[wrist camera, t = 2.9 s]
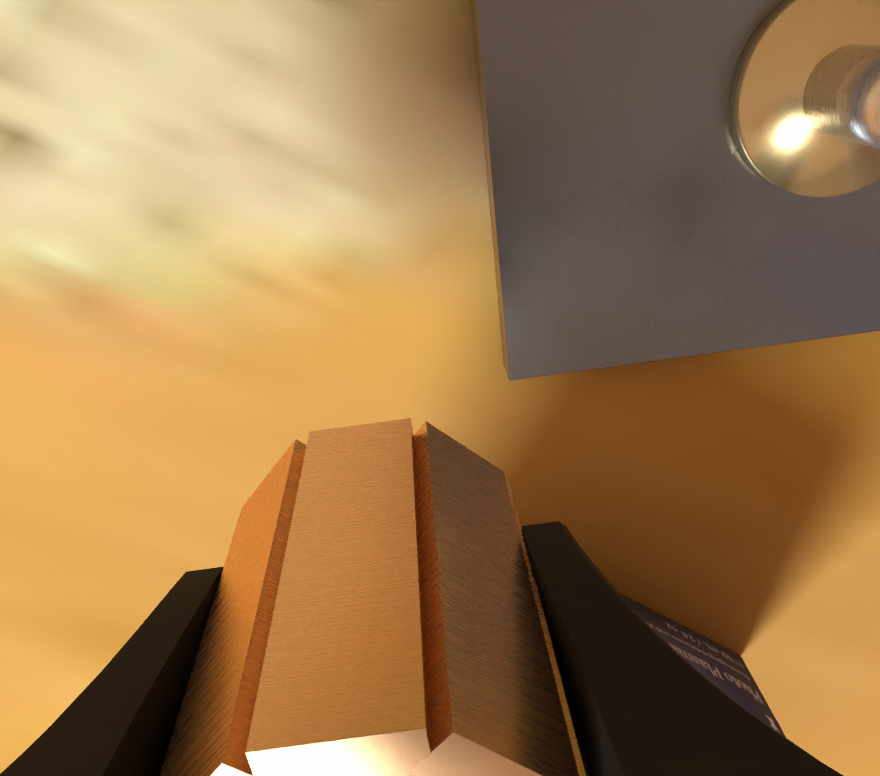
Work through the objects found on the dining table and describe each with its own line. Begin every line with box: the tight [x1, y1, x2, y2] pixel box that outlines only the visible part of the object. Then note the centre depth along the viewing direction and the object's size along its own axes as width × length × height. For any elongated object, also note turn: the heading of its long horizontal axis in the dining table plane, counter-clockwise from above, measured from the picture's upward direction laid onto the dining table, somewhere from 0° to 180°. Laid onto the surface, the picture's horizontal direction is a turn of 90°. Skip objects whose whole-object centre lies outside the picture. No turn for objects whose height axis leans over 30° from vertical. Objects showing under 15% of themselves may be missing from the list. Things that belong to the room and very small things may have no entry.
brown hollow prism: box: [160, 418, 586, 776], centre depth 11 cm, size 5×5×6 cm
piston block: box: [472, 0, 880, 380], centre depth 15 cm, size 15×12×5 cm
